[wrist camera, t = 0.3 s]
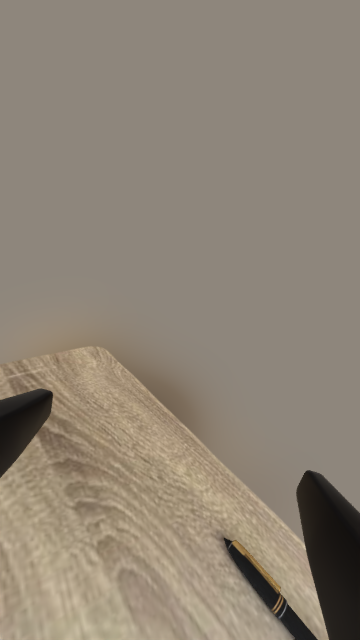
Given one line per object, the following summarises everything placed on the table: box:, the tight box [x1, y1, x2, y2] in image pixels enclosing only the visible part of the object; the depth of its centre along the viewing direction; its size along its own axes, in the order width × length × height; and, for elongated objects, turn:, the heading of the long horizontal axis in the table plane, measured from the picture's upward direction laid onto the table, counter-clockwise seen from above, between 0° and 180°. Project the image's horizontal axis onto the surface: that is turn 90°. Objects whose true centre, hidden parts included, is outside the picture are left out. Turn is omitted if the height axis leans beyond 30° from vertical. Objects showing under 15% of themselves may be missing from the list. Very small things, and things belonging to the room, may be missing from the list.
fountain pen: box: [224, 538, 317, 640], centre depth 16 cm, size 14×1×2 cm, turn 47°
